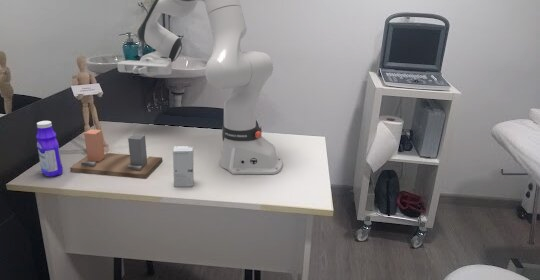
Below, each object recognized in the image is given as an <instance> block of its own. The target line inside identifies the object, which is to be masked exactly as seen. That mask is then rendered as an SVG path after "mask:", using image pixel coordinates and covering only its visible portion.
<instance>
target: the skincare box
mask: <svg viewBox="0 0 540 280" xmlns="http://www.w3.org/2000/svg"><path fill="white" fill-rule="evenodd" d="M172 157H173V159H172V160H173V163H172V164H173V165H172V166H173V169H172V170H173V187H175V188H177V187H178V188H179V187H180V188H182V187H189V188H191V187H194V180H195V179H194V178H195V177H194V174H195V173H194V146H191V145H188V146H187V145H180V146H177V145H174V146H173V150H172Z"/></svg>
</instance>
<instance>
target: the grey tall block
mask: <svg viewBox="0 0 540 280" xmlns="http://www.w3.org/2000/svg"><path fill="white" fill-rule="evenodd" d="M127 140H128V150H129V151H128V154H129V155H130V163H131V165H137V166H142V167H143V166H144V165H145V164H146V163H147V156H148V155H147V144H146V143H147V142H146V134H135V133H134V134H132V135H131V136H129V137H128V138H127Z"/></svg>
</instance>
